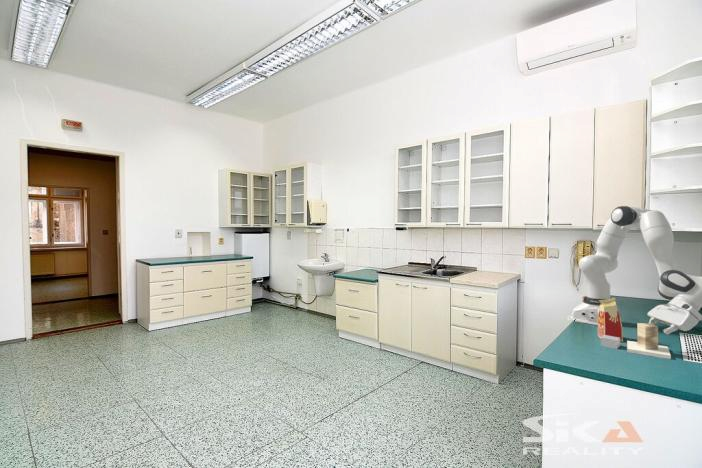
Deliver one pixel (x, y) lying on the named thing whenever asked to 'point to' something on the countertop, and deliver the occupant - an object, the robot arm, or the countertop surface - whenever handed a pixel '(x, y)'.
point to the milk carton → (609, 319)
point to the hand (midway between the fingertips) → (656, 330)
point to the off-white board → (648, 350)
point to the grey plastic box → (610, 341)
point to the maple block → (647, 336)
